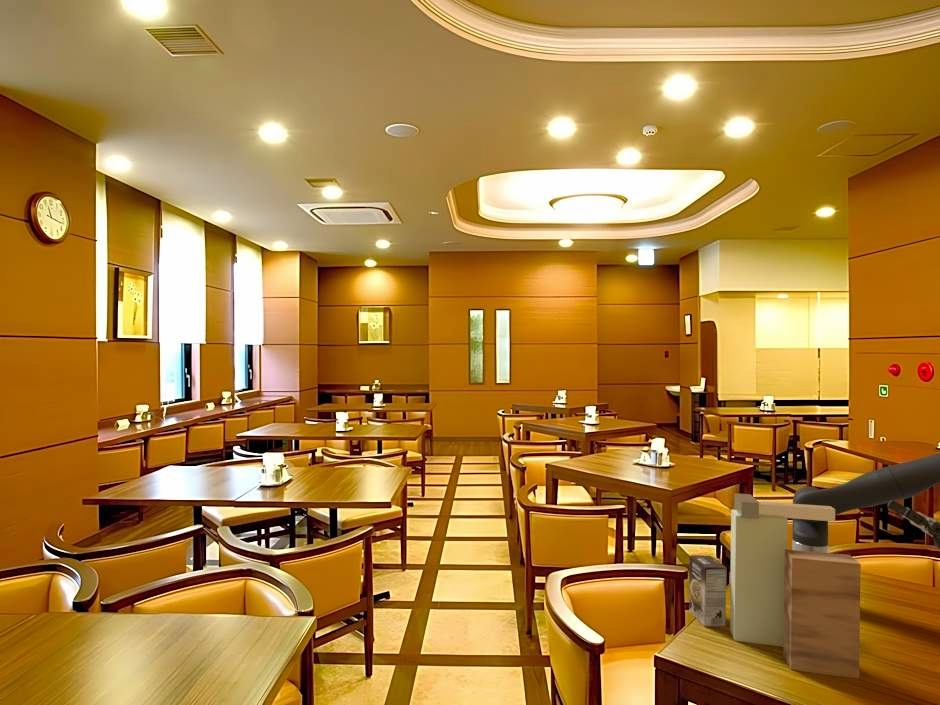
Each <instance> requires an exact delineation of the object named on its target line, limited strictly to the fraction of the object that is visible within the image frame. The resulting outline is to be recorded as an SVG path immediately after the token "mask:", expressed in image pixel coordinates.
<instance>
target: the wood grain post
mask: <svg viewBox="0 0 940 705" xmlns="http://www.w3.org/2000/svg"><path fill="white" fill-rule="evenodd" d="M861 567H862V566H861V563H860V562H859V561H858V560H857V559H855V558H854V557H853V556H851V555H850V554H843V553H832V552H831V553H830V552H828V553H821V552H809V551H798V550H792V549H788V550H787V549H785V557H784V644H783V650H782V651H783V655H782V656H783V658H784V660H785V662H786V664H787V667H789V669H790V670H791V671H796V672H797V671H799V672H806V673H812V674H813V673H814V674H821V675H828V676H836V677H842V678H843V677H845V678H849V679H850V678H851V679H856V680H857V679H860V653H861V652H860V651H861V650H860V649H861V648H860V647H861V646H860V644H861V643H860V640H861V639H860V638H861V634H860V633H861V631H860V630H861V571H862V570H861Z"/></svg>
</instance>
